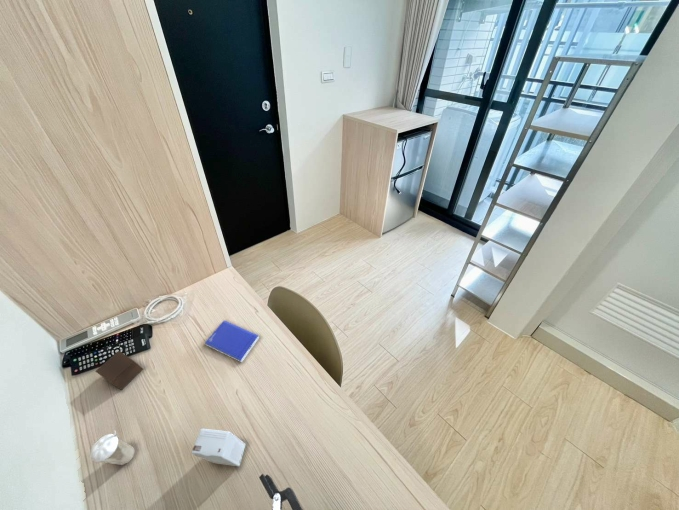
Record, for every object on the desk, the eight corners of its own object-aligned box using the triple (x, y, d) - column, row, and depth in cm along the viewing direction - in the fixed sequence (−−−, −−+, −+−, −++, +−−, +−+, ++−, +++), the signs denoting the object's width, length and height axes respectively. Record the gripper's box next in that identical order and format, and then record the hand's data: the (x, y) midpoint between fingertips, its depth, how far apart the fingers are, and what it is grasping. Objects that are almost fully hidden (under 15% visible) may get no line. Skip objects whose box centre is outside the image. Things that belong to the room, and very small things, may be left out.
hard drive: (204, 342, 76) (240, 360, 72) (224, 319, 81) (258, 334, 78) (206, 345, 77) (241, 362, 73) (225, 322, 82) (259, 337, 79)
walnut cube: (121, 390, 68) (110, 382, 64) (106, 379, 70) (94, 371, 66) (143, 369, 72) (133, 360, 68) (128, 359, 74) (118, 350, 70)
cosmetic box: (246, 443, 60) (232, 429, 52) (239, 468, 57) (222, 457, 49) (219, 440, 61) (201, 425, 52) (211, 465, 57) (190, 453, 49)
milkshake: (146, 447, 59) (121, 436, 53) (121, 473, 56) (91, 465, 49) (134, 434, 61) (108, 422, 54) (109, 460, 58) (79, 450, 51)
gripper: (336, 566, 37) (271, 457, 45) (241, 698, 30) (186, 541, 38) (336, 561, 42) (278, 465, 50) (255, 673, 35) (204, 540, 44)
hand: (238, 498), depth 44 cm, fingers open, 8 cm apart
